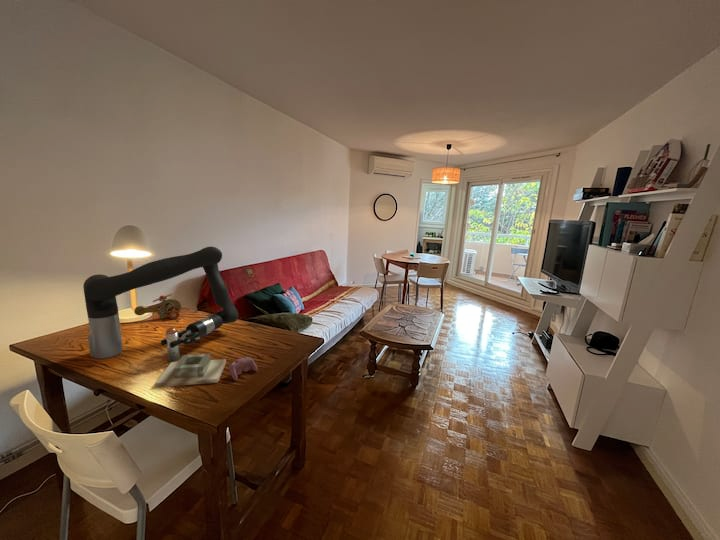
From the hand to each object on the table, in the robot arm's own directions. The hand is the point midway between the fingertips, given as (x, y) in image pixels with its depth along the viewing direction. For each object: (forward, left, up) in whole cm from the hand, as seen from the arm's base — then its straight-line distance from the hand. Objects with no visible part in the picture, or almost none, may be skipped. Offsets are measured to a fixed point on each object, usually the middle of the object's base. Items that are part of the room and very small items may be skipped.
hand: (166, 344), depth 113 cm
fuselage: (+1, +2, -8) cm, 8 cm away
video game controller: (+30, -12, -8) cm, 34 cm away
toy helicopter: (-21, +48, -8) cm, 53 cm away
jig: (+12, -10, -8) cm, 18 cm away
